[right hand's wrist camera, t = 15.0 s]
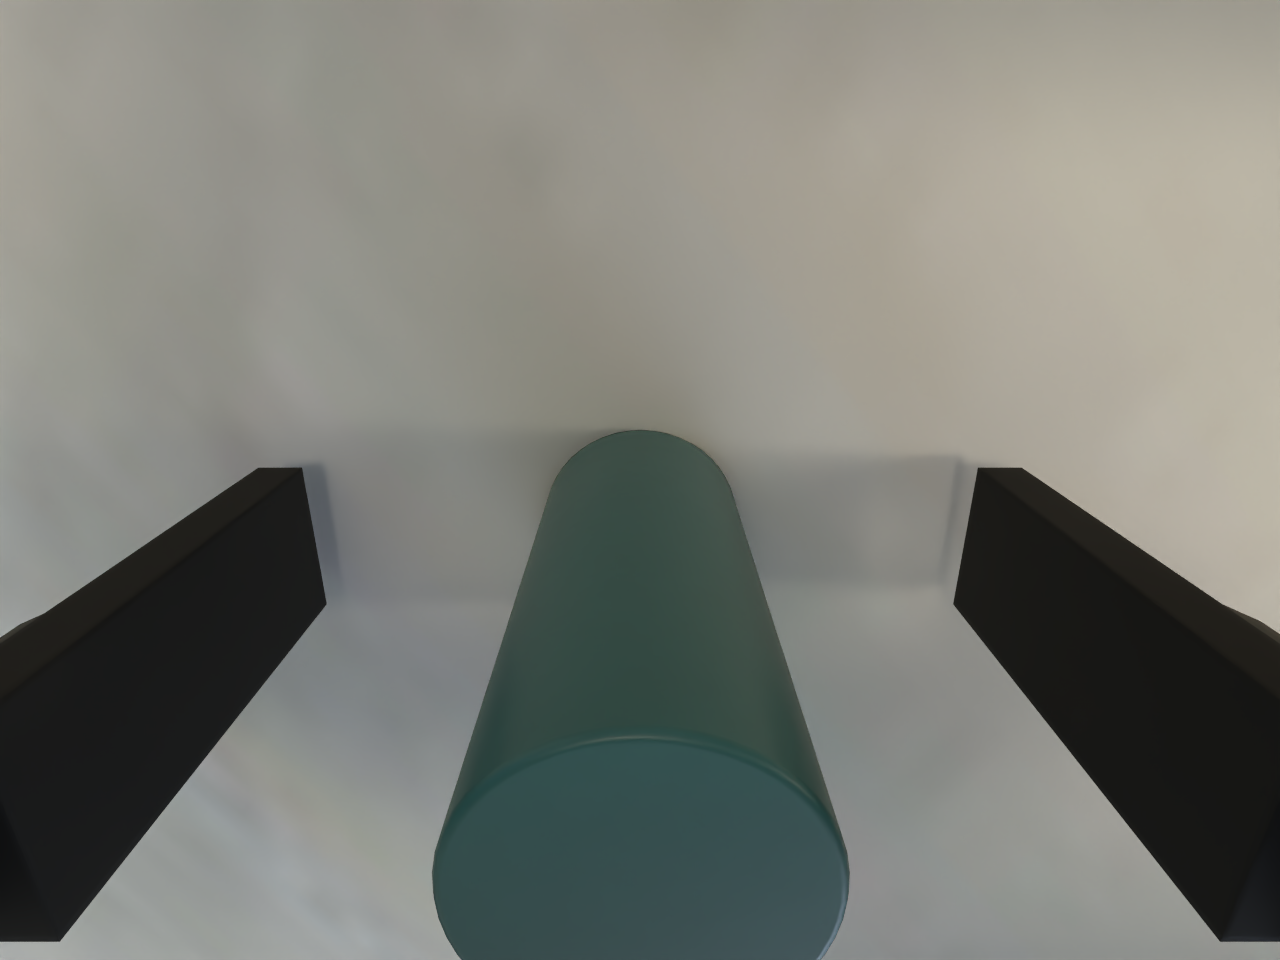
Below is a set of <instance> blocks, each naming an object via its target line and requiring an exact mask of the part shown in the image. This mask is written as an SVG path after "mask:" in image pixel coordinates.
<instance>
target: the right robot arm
mask: <svg viewBox="0 0 1280 960" xmlns="http://www.w3.org/2000/svg"><path fill="white" fill-rule="evenodd" d="M326 604H327V603H326V598H325V592H324V587H323V581H322V576H321V570H320V565H319V559H318V554H317V548H316V543H315V537H314V532H313V526H312V521H311V515H310V510H309V504H308V499H307V493H306V488H305V482H304V477H303V471H302V468H257V469H256V470H254V471H253V472H252V473H250V474H249V475H247V476H246V477H244V478H243V479H241V480H240V481H238V482H237V483H235V484H234V485H232V486H231V487H229V488H228V489H227V490H225V491H224V492H222V493H221V494H219V495H218V496H216V497H215V498H213V499H212V500H210V501H209V502H207V503H206V504H204V505H203V506H202V507H200V508H199V509H197V510H196V511H194V512H193V513H191V514H190V515H188V516H187V517H185V518H184V519H182V520H181V521H179V522H178V523H177V524H175V525H174V526H172V527H171V528H169V529H168V530H166V531H165V532H163V533H162V534H160V535H159V536H157V537H156V538H155V539H153V540H152V541H150V542H149V543H147V544H146V545H144V546H143V547H141V548H140V549H138V550H137V551H135V552H134V553H132V554H131V555H130V556H128V557H127V558H125V559H124V560H122V561H121V562H119V563H118V564H116V565H115V566H113V567H112V568H110V569H109V570H107V571H106V572H105V573H103V574H102V575H100V576H99V577H97V578H96V579H94V580H93V581H91V582H90V583H88V584H87V585H85V586H84V587H82V588H81V589H80V590H78V591H77V592H75V593H74V594H72V595H71V596H69V597H68V598H66V599H65V600H63V601H62V602H60V603H59V604H57V605H56V606H55V607H53V608H52V609H50V610H49V611H47V612H46V613H44V614H42V615H40V616H38V617H35V618H33V619H31V620H29V621H26V622H24V623H22V624H20V625H18V626H17V627H15V628H14V629H12V630H11V631H9V632H8V633H6V634H5V635H4V636H2V637H1V638H0V942H60V941H61V939H62V938H63V937H64V936H65V934H66V933H67V932H68V931H69V929H70V928H71V927H72V925H73V924H74V923H75V922H76V920H77V919H78V918H79V917H80V915H81V914H82V913H83V912H84V910H85V909H86V908H87V907H88V905H89V904H90V903H91V901H92V900H93V899H94V898H95V896H96V895H97V894H98V893H99V891H100V890H101V889H102V888H103V886H104V885H105V884H106V882H107V881H108V880H109V879H110V877H111V876H112V875H113V874H114V872H115V871H116V870H117V869H118V867H119V866H120V865H121V864H122V862H123V861H124V860H125V858H126V857H127V856H128V855H129V853H130V852H131V851H132V850H133V848H134V847H135V846H136V845H137V843H138V842H139V841H140V840H141V838H142V837H143V836H144V834H145V833H146V832H147V831H148V829H149V828H150V827H151V826H152V824H153V823H154V822H155V821H156V819H157V818H158V817H159V816H160V814H161V813H162V812H163V810H164V809H165V808H166V807H167V805H168V804H169V803H170V802H171V800H172V799H173V798H174V797H175V795H176V794H177V793H178V791H179V790H180V789H181V788H182V786H183V785H184V784H185V783H186V781H187V780H188V779H189V778H190V776H191V775H192V774H193V773H194V771H195V770H196V769H197V767H198V766H199V765H200V764H201V762H202V761H203V760H204V759H205V757H206V756H207V755H208V754H209V752H210V751H211V750H212V749H213V747H214V746H215V745H216V743H217V742H218V741H219V740H220V738H221V737H222V736H223V735H224V733H225V732H226V731H227V730H228V728H229V727H230V726H231V724H232V723H233V722H234V721H235V719H236V718H237V717H238V716H239V714H240V713H241V712H242V711H243V709H244V708H245V707H246V706H247V704H248V703H249V702H250V700H251V699H252V698H253V697H254V695H255V694H256V693H257V692H258V690H259V689H260V688H261V687H262V685H263V684H264V683H265V682H266V680H267V679H268V678H269V676H270V675H271V674H272V673H273V671H274V670H275V669H276V668H277V666H278V665H279V664H280V663H281V661H282V660H283V659H284V658H285V656H286V655H287V654H288V652H289V651H290V650H291V649H292V647H293V646H294V645H295V644H296V642H297V641H298V640H299V639H300V637H301V636H302V635H303V633H304V632H305V631H306V630H307V628H308V627H309V626H310V625H311V623H312V622H313V621H314V620H315V618H316V617H317V616H318V615H319V613H320V612H321V611H322V609H323V608H324V607H325V606H326ZM953 604H954V606H955V607H956V608H957V610H958V611H959V612H960V613H961V615H962V616H963V617H964V618H965V620H966V621H967V622H968V623H969V625H970V626H971V627H972V628H973V630H974V631H975V632H976V634H977V635H978V636H979V637H980V639H981V640H982V641H983V642H984V644H985V645H986V646H987V647H988V649H989V650H990V651H991V652H992V654H993V655H994V656H995V658H996V659H997V660H998V661H999V663H1000V664H1001V665H1002V666H1003V668H1004V669H1005V670H1006V671H1007V673H1008V674H1009V675H1010V676H1011V678H1012V679H1013V680H1014V682H1015V683H1016V684H1017V685H1018V687H1019V688H1020V689H1021V690H1022V692H1023V693H1024V694H1025V695H1026V697H1027V698H1028V699H1029V701H1030V702H1031V703H1032V704H1033V706H1034V707H1035V708H1036V709H1037V711H1038V712H1039V713H1040V714H1041V716H1042V717H1043V718H1044V719H1045V721H1046V722H1047V723H1048V725H1049V726H1050V727H1051V728H1052V730H1053V731H1054V732H1055V733H1056V735H1057V736H1058V737H1059V738H1060V740H1061V741H1062V742H1063V743H1064V745H1065V746H1066V747H1067V749H1068V750H1069V751H1070V752H1071V754H1072V755H1073V756H1074V757H1075V759H1076V760H1077V761H1078V762H1079V764H1080V765H1081V766H1082V767H1083V769H1084V770H1085V771H1086V773H1087V774H1088V775H1089V776H1090V778H1091V779H1092V780H1093V781H1094V783H1095V784H1096V785H1097V786H1098V788H1099V789H1100V790H1101V792H1102V793H1103V794H1104V795H1105V797H1106V798H1107V799H1108V800H1109V802H1110V803H1111V804H1112V805H1113V807H1114V808H1115V809H1116V810H1117V812H1118V813H1119V814H1120V816H1121V817H1122V818H1123V819H1124V821H1125V822H1126V823H1127V824H1128V826H1129V827H1130V828H1131V829H1132V831H1133V832H1134V833H1135V834H1136V836H1137V837H1138V838H1139V840H1140V841H1141V842H1142V843H1143V845H1144V846H1145V847H1146V848H1147V850H1148V851H1149V852H1150V853H1151V855H1152V856H1153V857H1154V858H1155V860H1156V861H1157V862H1158V864H1159V865H1160V866H1161V867H1162V869H1163V870H1164V871H1165V872H1166V874H1167V875H1168V876H1169V877H1170V879H1171V880H1172V881H1173V883H1174V884H1175V885H1176V886H1177V888H1178V889H1179V890H1180V891H1181V893H1182V894H1183V895H1184V896H1185V898H1186V899H1187V900H1188V901H1189V903H1190V904H1191V905H1192V907H1193V908H1194V909H1195V910H1196V912H1197V913H1198V914H1199V915H1200V917H1201V918H1202V919H1203V920H1204V922H1205V923H1206V924H1207V925H1208V927H1209V928H1210V929H1211V931H1212V932H1213V933H1214V934H1215V936H1216V937H1217V938H1218V939H1219V941H1220V942H1280V634H1279V633H1277V632H1276V631H1274V630H1273V629H1271V628H1270V627H1268V626H1267V625H1265V624H1264V623H1262V622H1261V621H1258V620H1256V619H1254V618H1252V617H1249V616H1247V615H1245V614H1243V613H1241V612H1238V611H1236V610H1234V609H1232V608H1229V607H1227V606H1225V605H1223V604H1221V603H1220V602H1218V601H1217V600H1215V599H1214V598H1212V597H1211V596H1209V595H1208V594H1206V593H1205V592H1203V591H1202V590H1200V589H1199V588H1197V587H1196V586H1195V585H1193V584H1192V583H1190V582H1189V581H1187V580H1186V579H1184V578H1183V577H1181V576H1180V575H1178V574H1177V573H1175V572H1174V571H1173V570H1171V569H1170V568H1168V567H1167V566H1165V565H1164V564H1162V563H1161V562H1159V561H1158V560H1156V559H1155V558H1153V557H1152V556H1150V555H1149V554H1148V553H1146V552H1145V551H1143V550H1142V549H1140V548H1139V547H1137V546H1136V545H1134V544H1133V543H1131V542H1130V541H1128V540H1127V539H1125V538H1124V537H1123V536H1121V535H1120V534H1118V533H1117V532H1115V531H1114V530H1112V529H1111V528H1109V527H1108V526H1106V525H1105V524H1103V523H1102V522H1100V521H1099V520H1098V519H1096V518H1095V517H1093V516H1092V515H1090V514H1089V513H1087V512H1086V511H1084V510H1083V509H1081V508H1080V507H1078V506H1077V505H1076V504H1074V503H1073V502H1071V501H1070V500H1068V499H1067V498H1065V497H1064V496H1062V495H1061V494H1059V493H1058V492H1056V491H1055V490H1053V489H1052V488H1051V487H1049V486H1048V485H1046V484H1045V483H1043V482H1042V481H1040V480H1039V479H1037V478H1036V477H1034V476H1033V475H1031V474H1030V473H1028V472H1027V471H1026V470H1024V469H1023V468H978V471H977V477H976V482H975V488H974V493H973V499H972V504H971V510H970V515H969V521H968V526H967V532H966V537H965V543H964V548H963V554H962V559H961V565H960V570H959V576H958V581H957V587H956V592H955V598H954V603H953Z"/></svg>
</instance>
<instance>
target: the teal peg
mask: <svg viewBox="0 0 1280 960" xmlns="http://www.w3.org/2000/svg"><path fill="white" fill-rule="evenodd" d="M849 877H850V871H849V863H848V855H847V850H846V847H845V844H844V841H843V838H842V834H841V831H840V828H839V825H838V822H837V819H836V816H835V813H834V809H833V806H832V803H831V800H830V797H829V794H828V791H827V788H826V784H825V781H824V778H823V775H822V772H821V769H820V766H819V763H818V760H817V756H816V753H815V750H814V747H813V744H812V741H811V738H810V735H809V731H808V728H807V725H806V722H805V719H804V716H803V713H802V710H801V707H800V703H799V700H798V697H797V694H796V691H795V688H794V685H793V682H792V678H791V675H790V672H789V669H788V666H787V663H786V660H785V657H784V654H783V650H782V647H781V644H780V641H779V638H778V635H777V632H776V629H775V626H774V622H773V619H772V616H771V613H770V610H769V607H768V604H767V601H766V597H765V594H764V591H763V588H762V585H761V582H760V579H759V576H758V573H757V569H756V566H755V563H754V560H753V557H752V554H751V551H750V548H749V544H748V541H747V538H746V535H745V532H744V529H743V526H742V523H741V520H740V516H739V513H738V510H737V507H736V504H735V501H734V498H733V495H732V491H731V488H730V486H729V484H728V482H727V480H726V478H725V476H724V475H723V473H722V472H721V470H720V469H719V467H718V466H717V465H716V464H715V463H714V461H713V460H712V459H711V458H710V457H709V456H707V455H706V454H705V453H704V452H703V451H702V450H700V449H699V448H697V447H696V446H694V445H693V444H691V443H689V442H687V441H685V440H683V439H681V438H679V437H675V436H672V435H669V434H666V433H661V432H656V431H643V430H638V431H626V432H621V433H616V434H612V435H609V436H606V437H603V438H601V439H599V440H597V441H595V442H592V443H591V444H589V445H587V446H586V447H584V448H583V449H581V450H580V451H579V452H578V453H576V454H575V455H574V456H573V457H572V458H571V459H570V460H569V461H568V462H567V463H566V464H565V466H564V467H563V468H562V470H561V471H560V473H559V474H558V475H557V477H556V479H555V481H554V483H553V485H552V487H551V490H550V493H549V497H548V500H547V503H546V506H545V509H544V512H543V515H542V518H541V522H540V525H539V528H538V531H537V534H536V537H535V540H534V543H533V547H532V550H531V553H530V556H529V559H528V562H527V565H526V568H525V571H524V575H523V578H522V581H521V584H520V587H519V590H518V593H517V596H516V600H515V603H514V606H513V609H512V612H511V615H510V618H509V621H508V625H507V628H506V631H505V634H504V637H503V640H502V643H501V646H500V650H499V653H498V656H497V659H496V662H495V665H494V668H493V671H492V675H491V678H490V681H489V684H488V687H487V690H486V693H485V696H484V699H483V703H482V706H481V709H480V712H479V715H478V718H477V721H476V724H475V728H474V731H473V734H472V737H471V740H470V743H469V746H468V749H467V753H466V756H465V759H464V762H463V765H462V768H461V771H460V774H459V778H458V781H457V784H456V787H455V790H454V793H453V796H452V799H451V802H450V806H449V809H448V812H447V815H446V818H445V821H444V824H443V827H442V831H441V834H440V837H439V840H438V843H437V846H436V850H435V854H434V861H433V869H432V880H433V894H434V900H435V905H436V909H437V913H438V917H439V920H440V923H441V925H442V928H443V930H444V932H445V935H446V937H447V939H448V940H449V942H450V944H451V945H452V947H453V948H454V950H455V952H456V953H457V955H458V956H459V957H460V958H461V960H821V958H822V957H823V956H824V955H825V953H826V952H827V950H828V948H829V947H830V945H831V944H832V942H833V940H834V939H835V937H836V935H837V932H838V930H839V927H840V925H841V923H842V920H843V917H844V913H845V908H846V904H847V900H848V894H849Z"/></svg>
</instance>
